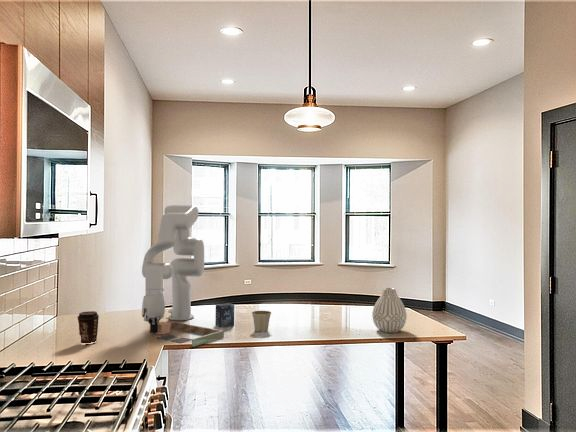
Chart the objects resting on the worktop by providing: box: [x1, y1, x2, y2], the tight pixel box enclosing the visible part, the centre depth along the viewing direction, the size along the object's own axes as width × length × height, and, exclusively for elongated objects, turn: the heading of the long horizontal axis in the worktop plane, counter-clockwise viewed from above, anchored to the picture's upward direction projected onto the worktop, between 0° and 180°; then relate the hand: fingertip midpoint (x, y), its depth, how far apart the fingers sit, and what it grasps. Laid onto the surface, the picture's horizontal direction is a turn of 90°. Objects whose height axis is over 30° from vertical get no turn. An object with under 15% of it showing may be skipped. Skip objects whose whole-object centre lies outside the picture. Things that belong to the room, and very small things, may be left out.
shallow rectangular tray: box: [169, 321, 225, 348], centre depth 226 cm, size 33×19×3 cm, turn 56°
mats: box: [157, 334, 193, 344], centre depth 222 cm, size 15×7×1 cm, turn 56°
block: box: [156, 321, 171, 335], centre depth 233 cm, size 5×5×4 cm
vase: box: [371, 287, 408, 334], centre depth 238 cm, size 16×16×20 cm
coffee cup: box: [77, 310, 100, 343], centre depth 214 cm, size 9×8×13 cm
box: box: [214, 302, 235, 328], centre depth 248 cm, size 8×6×11 cm
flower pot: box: [251, 310, 272, 333], centre depth 238 cm, size 9×9×9 cm
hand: (153, 332), depth 229 cm, fingers closed
